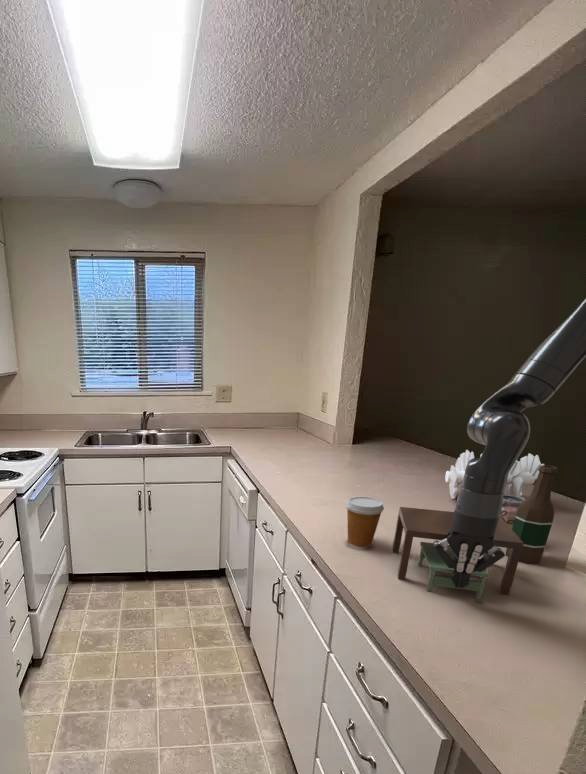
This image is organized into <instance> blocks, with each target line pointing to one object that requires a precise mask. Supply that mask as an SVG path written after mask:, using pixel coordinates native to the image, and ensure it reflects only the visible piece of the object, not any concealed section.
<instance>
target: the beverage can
mask: <svg viewBox="0 0 586 774" xmlns="http://www.w3.org/2000/svg"><path fill="white" fill-rule="evenodd" d="M525 499H526V498H525V497H523V496H521V497H518V496H513V495H509V494H504V496H503V504H502V511H501V513H500V517H501V518H502V519H503V520H504V521H505V522H506V524H507V525H508V526H509V527H510V528H511V529H512V527H513V523H514V520H515V516H516V513H517V511H518V508H519V506H520V505H521V503H522V502H523V501H524V500H525Z"/></svg>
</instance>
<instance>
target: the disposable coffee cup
mask: <svg viewBox="0 0 586 774" xmlns="http://www.w3.org/2000/svg"><path fill="white" fill-rule="evenodd" d="M345 506H346V510H347V542H348V543H349V544H350V545H352V546H356V547H362V548H364V547H365V548H366V547H370V546H372V544H373V541H374V537H375V535H376V531H377V528H378V526H379V525H378V524H379V521H380V517H381V514H382V513H383V511H384V510H385V507H384V505H383V502H382V501H381V500H380V499H377V498H374V497H370V496H353V497H350V498H348V500H347V502H346V503H345Z"/></svg>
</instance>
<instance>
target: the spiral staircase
mask: <svg viewBox="0 0 586 774" xmlns="http://www.w3.org/2000/svg"><path fill="white" fill-rule="evenodd" d="M482 454H483V453H480V456H479V457H481V456H482ZM473 458H475V454H474V451H471V452H470V451H469V449H465V452H462V453H460V454H459V457H457V459H456V462H455V465H454V464H451V466H450V470H446V471H445V474H444V475H445V476H444V481H445V483H449V485H448V486H449V487H448V488H449V495H450V496H449V497H450V498H451V500H454V499H456V496H457V492H458V487H459V486H460V484H462V482H463V478H464V474H465V469H466V466H467V464H468V462H469V461H470V460H471V459H473ZM542 465H545V463H541V460H540V456H539V455H538V454H535V456H534V455H533V454H532V453H528V454H527V455H525V456H523V457H521V458H520V460H517V461H516V462H515V464H514V465H513V467H512V468H511V470H510V471H509V475H508V479H507V483H506V485H508V489H507V492H508V495H513V496H518V497H523V490H522V488H523V485H529V486H531V485H535V482H536V480H537V477H538V474H539V471H538V469H539V468H540V466H542Z"/></svg>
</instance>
